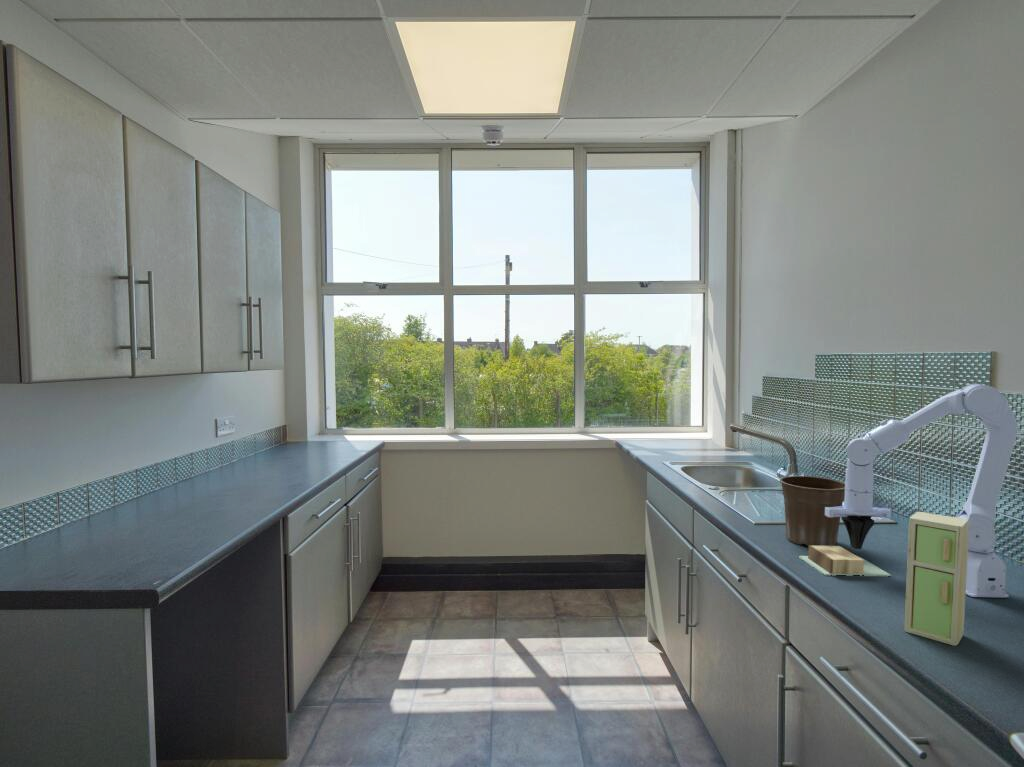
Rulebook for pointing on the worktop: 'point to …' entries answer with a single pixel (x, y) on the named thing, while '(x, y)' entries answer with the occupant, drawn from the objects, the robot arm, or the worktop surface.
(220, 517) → the worktop surface
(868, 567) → the rubber mat
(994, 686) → the worktop surface
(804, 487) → the plant pot
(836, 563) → the oak slab
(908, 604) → the toy refrigerator
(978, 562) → the robot arm
